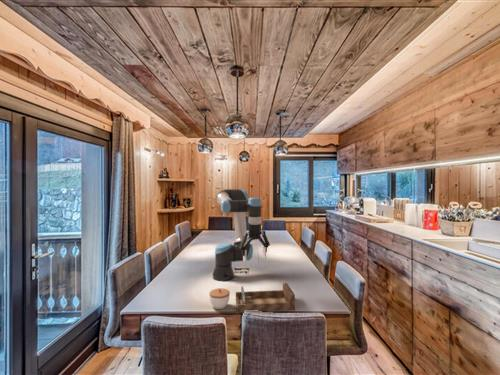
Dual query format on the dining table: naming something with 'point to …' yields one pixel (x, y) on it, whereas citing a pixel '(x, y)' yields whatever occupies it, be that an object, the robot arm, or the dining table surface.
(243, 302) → the pusher
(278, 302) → the wooden tray
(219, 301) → the lidded jar
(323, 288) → the dining table surface
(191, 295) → the dining table surface
